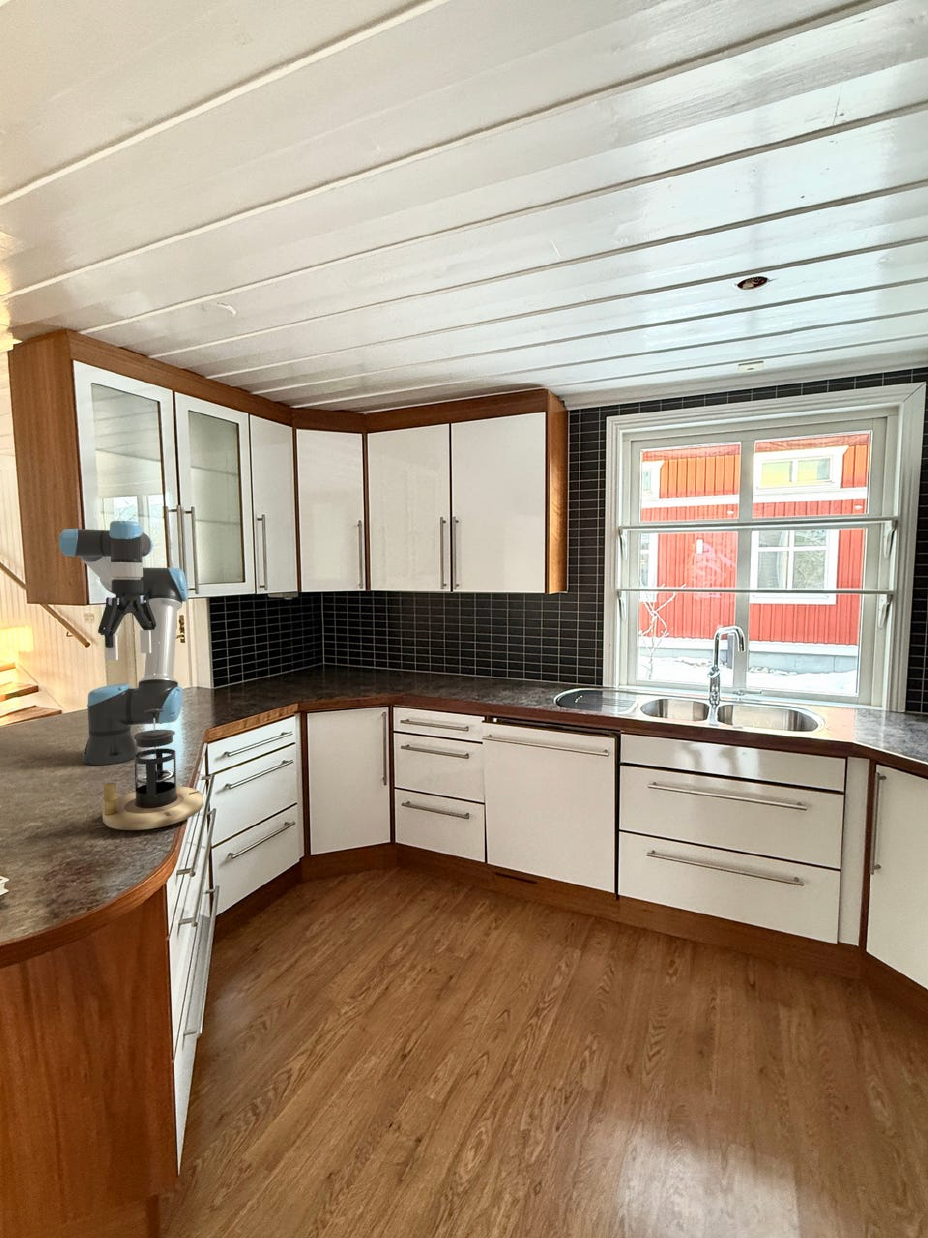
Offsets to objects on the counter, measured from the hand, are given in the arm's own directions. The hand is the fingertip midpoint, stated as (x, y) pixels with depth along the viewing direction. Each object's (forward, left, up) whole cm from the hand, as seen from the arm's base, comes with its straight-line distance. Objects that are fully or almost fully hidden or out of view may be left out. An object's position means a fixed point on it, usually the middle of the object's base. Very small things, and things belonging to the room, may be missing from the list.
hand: (129, 656), depth 164 cm
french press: (+17, +18, -34) cm, 41 cm away
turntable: (+17, +18, -35) cm, 43 cm away
